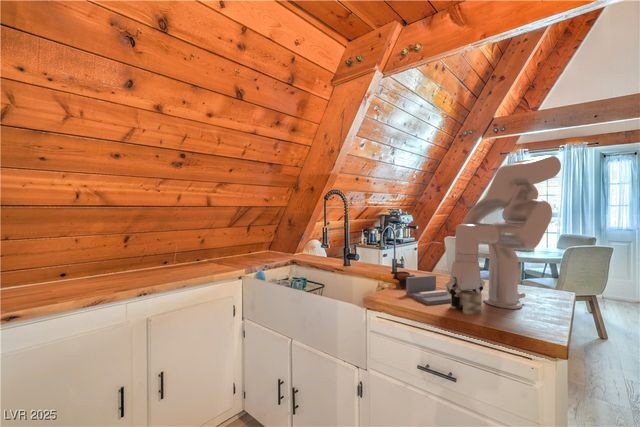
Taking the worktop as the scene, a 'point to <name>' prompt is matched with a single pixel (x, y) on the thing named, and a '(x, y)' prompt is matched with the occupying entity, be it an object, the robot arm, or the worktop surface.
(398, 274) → the pottery mug
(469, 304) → the saddle block
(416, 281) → the board
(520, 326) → the worktop surface
